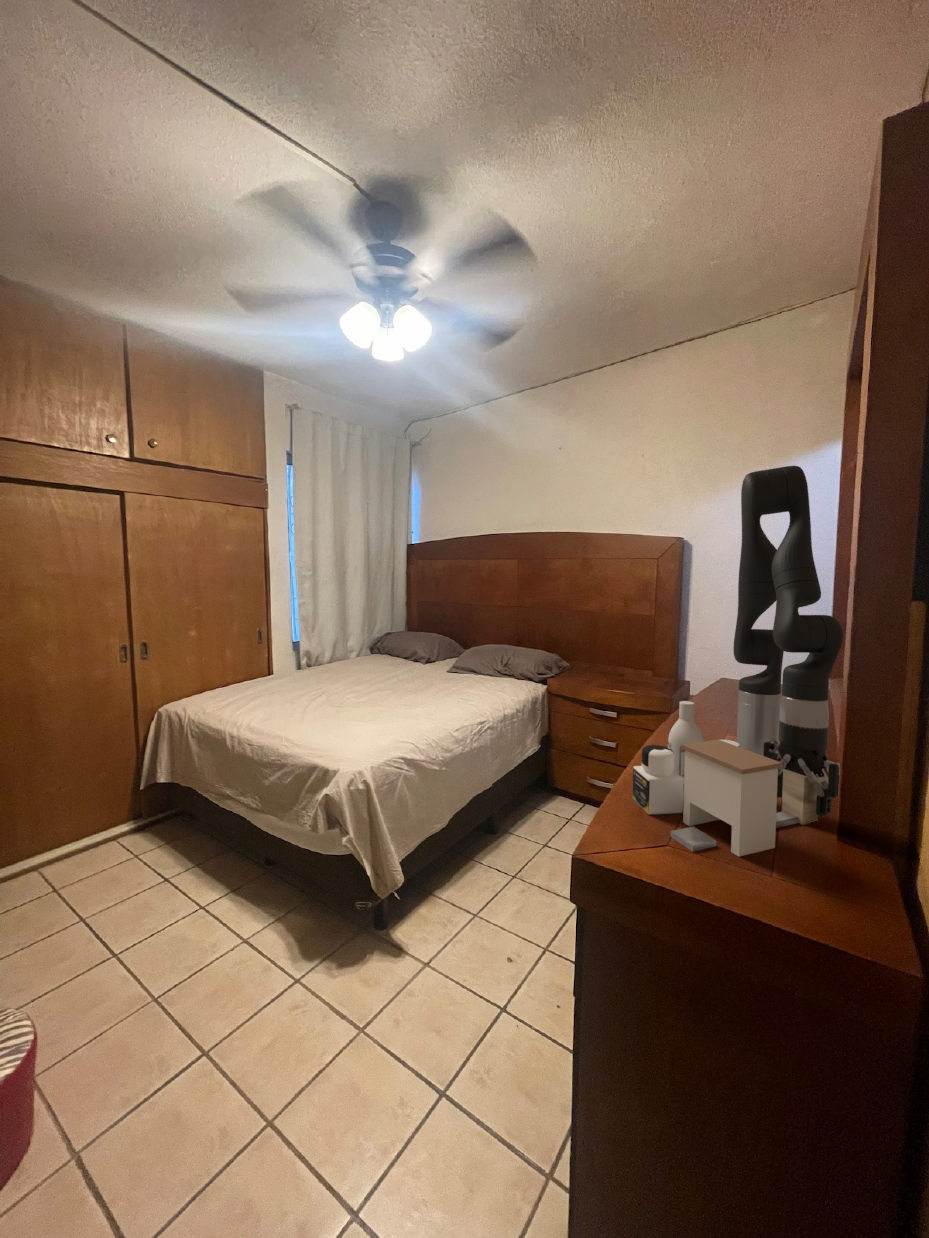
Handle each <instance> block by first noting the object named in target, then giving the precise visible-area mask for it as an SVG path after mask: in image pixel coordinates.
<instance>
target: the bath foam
mask: <svg viewBox="0 0 929 1238" xmlns="http://www.w3.org/2000/svg"><path fill="white" fill-rule="evenodd" d="M678 708H679V710H678V713H679V715H678V716H679V717H678V719H677V721H675V723H674V724H673V725H672V728H671V729H670V731H669V733H668V739H667V748H669V749H671V750H672V751H673V752H674V772H675V773H677V774H678V775H679V776H681V777H682V778H683V802H684V769H685V750H683V749H682V745H683V744H690V743H697V742H705V737H704V734H703V732H702V729H701V728H700V727H699V725H698V723H697V722H696V721H695V716H696V715H695V711H696V709H695V708H696V704H695V702H694V701H688V700H682V701H679V707H678Z"/></svg>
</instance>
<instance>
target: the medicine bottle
mask: <svg viewBox="0 0 929 1238" xmlns="http://www.w3.org/2000/svg"><path fill="white" fill-rule="evenodd" d="M632 799H633V800H634V802H636V804H637V805H638V806H639V807H640V808H641V809H642V810H643V811H644V812H645V813H646V814H647V815H669V814H670V815H671V814H683V808H684V801H683V778H682V777H681V776H679V775H678V774H677V773H675V772H674V752H673V751H672V750H671V749H669V748H668V746H664V745H659V744H651V745H645V746H644V747H642V748H641V765H634V766H633V767H632Z"/></svg>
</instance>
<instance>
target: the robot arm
mask: <svg viewBox="0 0 929 1238" xmlns="http://www.w3.org/2000/svg"><path fill="white" fill-rule="evenodd" d="M807 481H808V480H807V477H806V474H805V471H804V470H803V469H802V468H801V467H800V466H798V465H787V466H781V467H775V468H769V469H762V470H761V469H760V470H757V471H753V472H749V473H747V474H746V475H745V476H744V478H743V480H742V484H741V489H740V490H741V494H740V495H741V497H740V498H741V499H740V503H741V504H740V505H741V512H740V513H741V546H740V558H739V559H740V560H739V568H738V569H739V570H738V584H737V585H738V588H737V589H738V591H737V593H738V594H737V596H738V597H737V599H738V601H737V617H736V624H735V629H734V630H735V631H734V638H733V649H732V650H733V656H734V657H733V658H734V659H735V661H736V662H737V663H739V664H743V665H753V666H754V665H755V666H766V668H765V669H764V670H762V671H760V672H759V673H756V674H753V675H749V676H744V677H741V678H740V679H739V681H738V695H737V696H738V698H737V701H738V704H737V725H736V726H737V731H736V742H737V743H739V744H740V748H743V749H746V750H748V751H751V752H754V753H756V754H759V755H762V756H765V757H767V758H770V759H773V760H776V761H778V760H779V759H780V761H778V762H781V763H782V768H778V781H777V799H778V798H782V790H783V770H784V769H789V770H791V771H794V772H796V773H799V774H801V775H804V776H807V778H808V780H809V782H810V783H811V784H813V786H814V787H815V789H816V791H817V793H818V795H817V799H816V814H817V815H818V817H824V816H828V814H830V813H831V812H832V799H833V798H837V797H839V796H838V784H839V775H840V762H841V761H840V762H834V761H831V760H828V757H827V755H826V754H827V753H826V752H827V750H828V745H829V742H828V741H829V723H830V709H829V687H830V685H829V681H830V677H831V673H832V671H833V669H834V666H835V663H836V661H837V657H838V656H839V652H840V651H841V648H842V644H843V642H844V629H843V626H842V624H841V623H840V621H839V620H838V619H837V618H835V617H834V616H832V615H827V614H799V608H803V607H808V606H811V605H813V604H815V603H817V602H819V600H820V599H821V597H822V590H821V585H820V581H819V576H818V573H817V568H816V564H815V561H814V560H815V559H814V554H813V543H812V524H811V508H810V498H809V497H810V496H809V487H808V482H807ZM786 512H787V513H788V514H789V524H788V528H787V531H786V533H785V535H784V537H783V538H782V541H781V542H780V544H779V546H778V547H777V548H776V547H775V545H774V544H773V543H772V542H771V540H770V539H769V538H768V536H767V535H766V533H765V532H764V529H763V528H762V525H761V518H762V516H765V515H773V514H774V515H775V514H781V513H786ZM775 603H776V604H775ZM774 604H775V614H774V615H775V616H774V620H773V626H772V629H767V628H766V629H765V628H764V629H763V628H762V629H761V628H758V629H757V628H753V626H754V625H755V623H756V622H757V620H758V619H759V618H760V617H761V615H762V614H764V613H765V612H766V611H767V610H769V609H770V607H772V606H773V605H774ZM784 652H786V653H793V654H794V653H796V654H797V653H798V654H799V653H801V654H802V653H803V654H805V653H806V654H807V653H808V655H807V657H806V658H805V660H803V661H802V662H799V663H793V664H789V665H786V666H785V667H784V669H783V661H784ZM782 669H783V670H782ZM824 768H826V771H825V769H824ZM817 774H818V776H819V778H817V777H815V775H817ZM827 774H828V775H827Z"/></svg>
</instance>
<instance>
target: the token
mask: <svg viewBox="0 0 929 1238" xmlns="http://www.w3.org/2000/svg"><path fill="white" fill-rule="evenodd" d="M670 838H672V839H674V840H675V841H676V842H677V843H680V845H682V846H684V847H685V848H686V849H688V850H689V851H691V853H693V852H698V851H701V850H702V851H703V850H707V849H711V848H715V847H717V840H716V839H715V838H713V837H711V836H709V835H708V834H706V833H705V832H703V831H701V830H700V829H698V828H696V827H695V826H689V827H685V828H678V829H675V830H670Z"/></svg>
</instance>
